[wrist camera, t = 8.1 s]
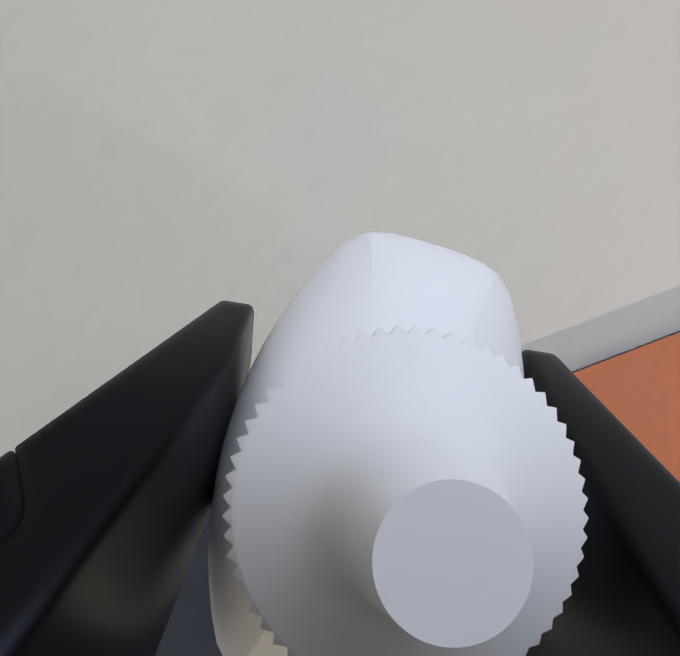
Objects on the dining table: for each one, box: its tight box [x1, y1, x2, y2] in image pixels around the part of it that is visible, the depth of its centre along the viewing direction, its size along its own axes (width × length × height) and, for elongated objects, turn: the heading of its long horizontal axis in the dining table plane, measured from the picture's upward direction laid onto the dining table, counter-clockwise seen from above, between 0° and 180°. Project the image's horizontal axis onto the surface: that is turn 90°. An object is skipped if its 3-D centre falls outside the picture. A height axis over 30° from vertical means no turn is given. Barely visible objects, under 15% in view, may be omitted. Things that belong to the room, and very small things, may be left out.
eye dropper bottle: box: [208, 232, 589, 656], centre depth 9 cm, size 4×6×12 cm
